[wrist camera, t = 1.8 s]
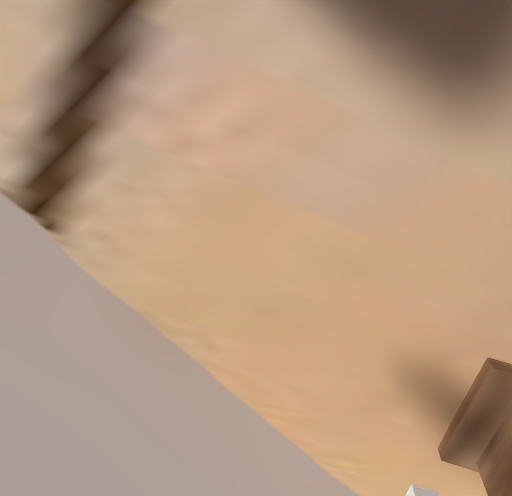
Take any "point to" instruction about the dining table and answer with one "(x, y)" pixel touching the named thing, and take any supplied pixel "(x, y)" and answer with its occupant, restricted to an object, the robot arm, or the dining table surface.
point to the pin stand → (484, 429)
